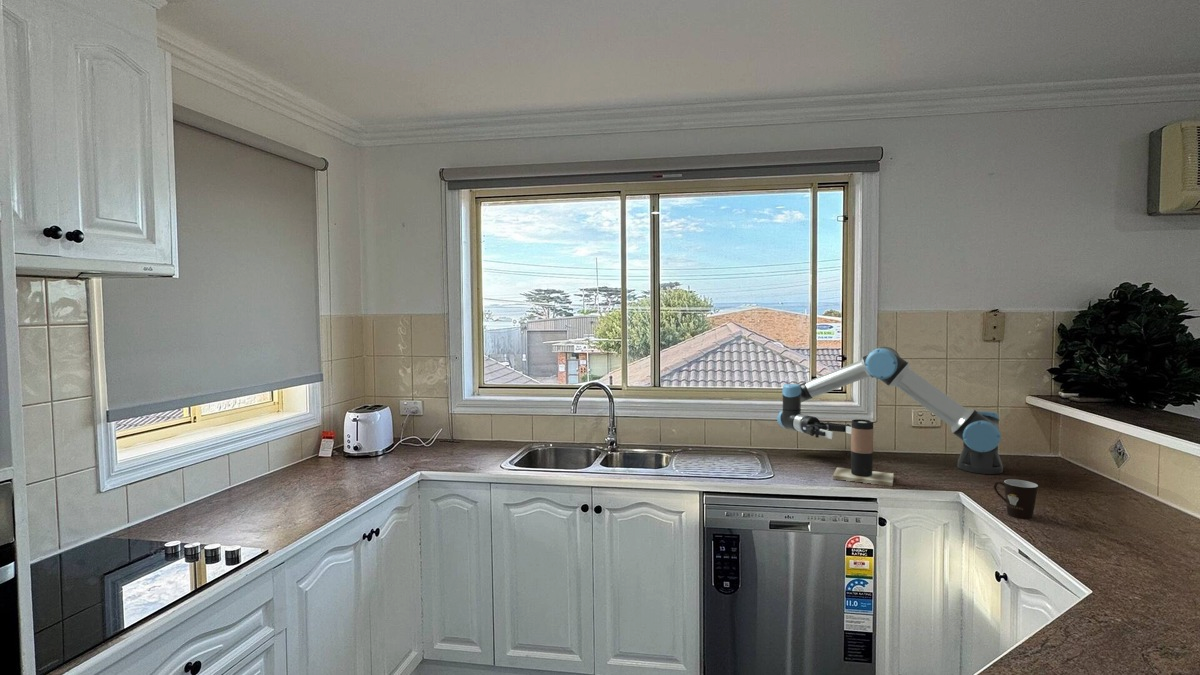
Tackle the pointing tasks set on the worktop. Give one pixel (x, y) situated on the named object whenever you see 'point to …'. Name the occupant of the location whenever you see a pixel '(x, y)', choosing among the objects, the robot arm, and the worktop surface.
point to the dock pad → (876, 477)
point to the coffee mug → (1019, 498)
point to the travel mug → (861, 447)
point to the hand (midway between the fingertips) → (846, 434)
